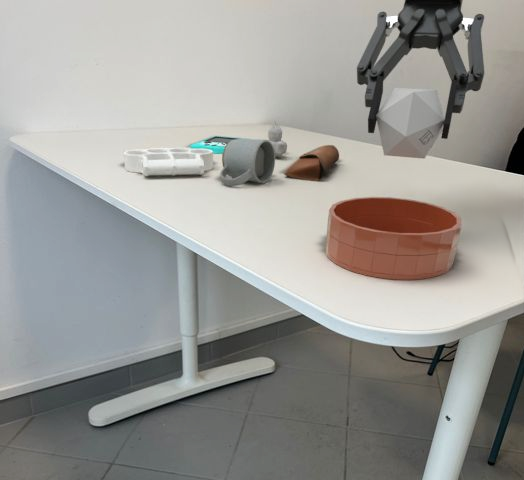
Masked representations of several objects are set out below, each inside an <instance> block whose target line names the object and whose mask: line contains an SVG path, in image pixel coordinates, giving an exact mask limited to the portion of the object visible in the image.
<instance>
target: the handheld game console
mask: <svg viewBox="0 0 524 480" xmlns="http://www.w3.org/2000/svg"><path fill="white" fill-rule="evenodd" d="M235 139H245V137H244V138H242V137H231V136H222V135H221V136H219V135H214V136H212V137H209V138H206V139H204V140H201V141H199V142H196V143H193V144H191V145H190V146H189V149H200V148H202V149H209V150H212V151H213V154H223V151H224V148H225V146H226V144H227V143H228V142H230V141H232V140H235Z"/></svg>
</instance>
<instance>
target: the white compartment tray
mask: <svg viewBox="0 0 524 480" xmlns="http://www.w3.org/2000/svg"><path fill="white" fill-rule="evenodd" d="M123 163H124V170H125V171H126V172H130V173H137V174H142V176H144V177H150V176H182V175H199V176H202V175H204V174H205V172H207V171H210V170H213V169H214V153H213V151H212V150H209V149H202V148H200V149H190V147H189V148H187V147H151V148H144V149H142V148H141V149H127V150H125V151H124V152H123Z"/></svg>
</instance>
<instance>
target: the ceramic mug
mask: <svg viewBox="0 0 524 480" xmlns="http://www.w3.org/2000/svg"><path fill="white" fill-rule="evenodd" d="M268 140H269V139H254V138H253V139H252V138H244V139H235V140H232V141H230V142H228V143H227V144H226V146H225V148H224V151H223V153H222V157H221V164H222V167H223V168H222V169H221V170H220V172H219V177H220V180H221V183H222V184H223V185H225V186H227V187H237V186H241V185H243V184H245V183H247V182H252V183H258V184H266V183H267V182H268V181H269V180H270V179H271V178H272V176H273V173H274V170H275V167H276V166H275V165H276V157H275V152H274V148H273V145H272V144H271V142H270V141H268ZM227 176H228V177H231V178H226V177H227Z"/></svg>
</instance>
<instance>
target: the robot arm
mask: <svg viewBox="0 0 524 480" xmlns="http://www.w3.org/2000/svg"><path fill="white" fill-rule="evenodd" d="M463 1H464V0H404V3H403V6H402V9H401V10H400V12H398V14H397V15H393V16H392V15H391V16H388V14H387V12H386V11H380V12H378V13H377V18H376V26H375V29H374V31H373V33H372V35H371V37H370V39H369V41H368V44H367V45H366V48H365V49H364V52H363V53H362V56H361V58H360V60H359V62H358V63H357V66H356V83H357V84H358V85H359V86H363V85H365V86H366V89H365V93H364V107H365V108H369V113H368V117H367V133H368V134H375V130H376V125H377V119H376V115H377V113H378V112H379V110H380V109H381V103H382V97H383V94H384V81H385V80H386V79H387V77H388V76H389V75H390V74H391V73H392V71H393V70H394V69H395V68H396V67H397V65H398V64H399V63H400V61H402V59H403V58H404V57H405V56H408V55H409V53H410V52H411V51H412V49H424V48H425V49H428V50H429V49H430V50H436V51H437V52H438V55H439V57H440V58H441V59H442V61H443V64H444V66H445V69H446V71H447V73H448V76H449V79H450V81H451V83H450V87H449V94H448V99H447V104H446V110H445V115H444V126H443V131H442V132H441V137H440V139H443V140H448V136H449V132H450V128H451V123H452V116H453V114H461V113H462V111H463V110H464V109H463V108H464V103H465V100H466V94H467V92H468V91H473V92H479V91H480V90H481V88H482V84H483V80H484V76H485V64H484V63H485V62H484V53H483V52H484V51H483V42H482V30H483V26H484V20H485V14H483V13H477V14H476V15H474V18H470V17H464V14H463V12H462V7H463ZM394 29H397V30H398V31H399V33H398V36H397V37H396V38H395V40H394V41H393V42H392V44H391V45H390V46H389V47H388V49H387V50H386V51H385V52H384V54H383V55H382V56H381V57H380V58H379V56H380V54H381V52H382V50H383V48H384V46H385V43H386V40H387V38H389V37H390V35H391V34H392V32H393V30H394ZM460 30H461V31H462V32H463V36H464V37H465V39H466V40H467V57H468V59H467V60H468V71H467V69H466V66H465V63H464V61H463V59H462V56H461V54H460V52H459V49H458V46H457V45H456V42H455V40H454V39H455V38H454V36H455V35H456V34H457V33H458V32H459V31H460ZM378 58H379V60H378Z"/></svg>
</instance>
